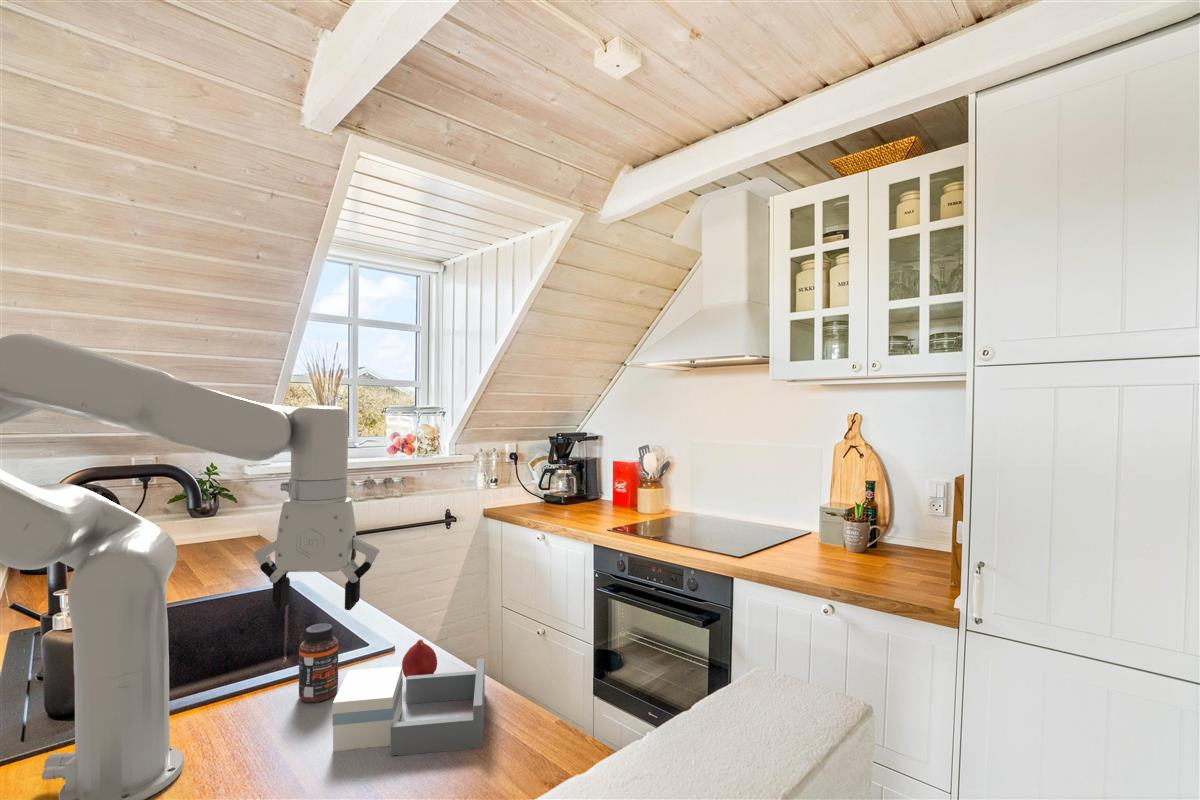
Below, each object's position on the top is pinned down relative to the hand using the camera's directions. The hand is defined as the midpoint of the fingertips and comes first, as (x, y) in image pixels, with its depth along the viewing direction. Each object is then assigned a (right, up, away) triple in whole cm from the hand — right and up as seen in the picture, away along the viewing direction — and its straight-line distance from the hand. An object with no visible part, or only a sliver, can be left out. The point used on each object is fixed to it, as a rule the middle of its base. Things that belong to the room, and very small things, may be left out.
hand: (316, 607), depth 88 cm
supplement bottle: (-5, -19, +12) cm, 23 cm away
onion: (+10, -19, +16) cm, 27 cm away
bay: (+17, -19, +4) cm, 26 cm away
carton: (+7, -19, +2) cm, 20 cm away
